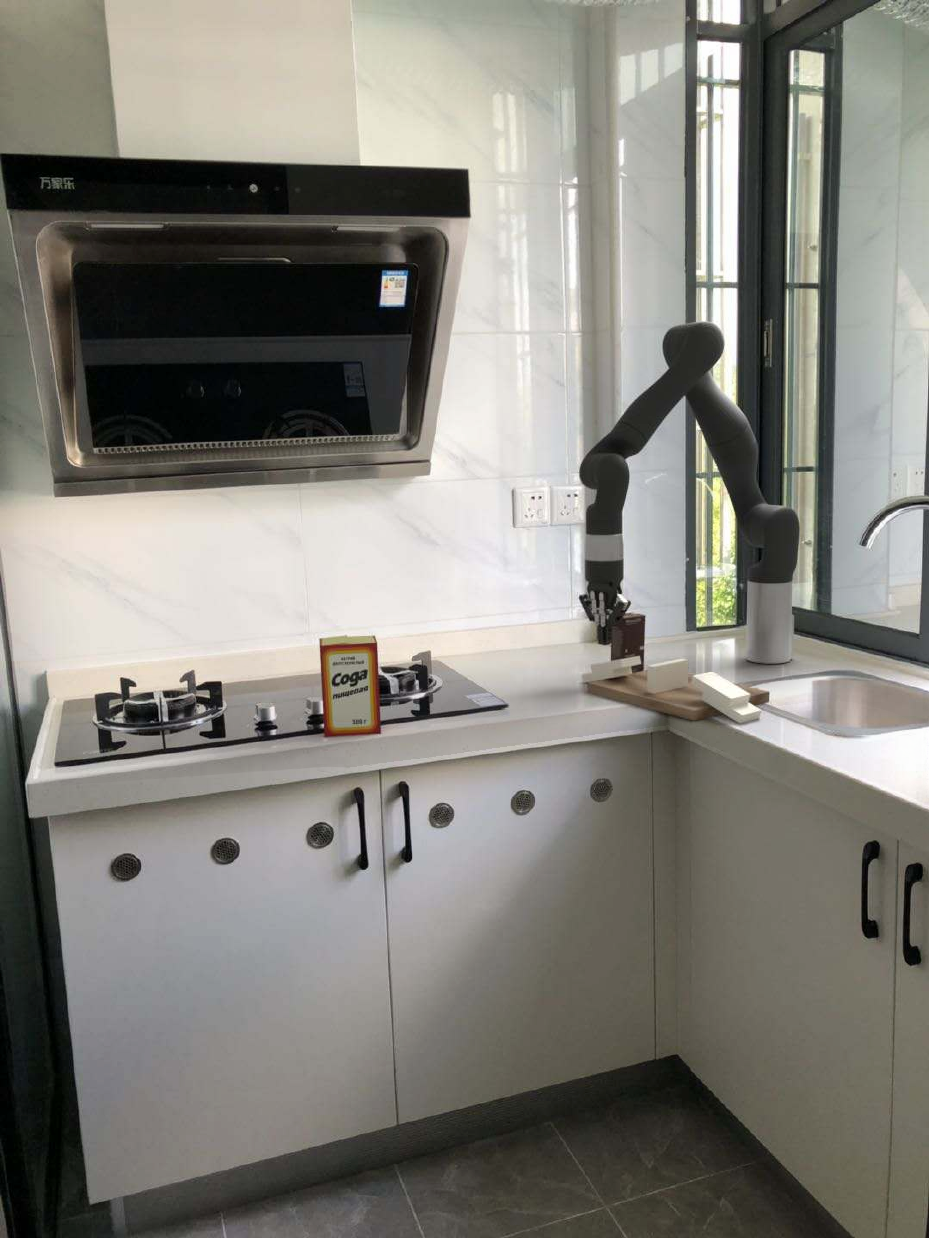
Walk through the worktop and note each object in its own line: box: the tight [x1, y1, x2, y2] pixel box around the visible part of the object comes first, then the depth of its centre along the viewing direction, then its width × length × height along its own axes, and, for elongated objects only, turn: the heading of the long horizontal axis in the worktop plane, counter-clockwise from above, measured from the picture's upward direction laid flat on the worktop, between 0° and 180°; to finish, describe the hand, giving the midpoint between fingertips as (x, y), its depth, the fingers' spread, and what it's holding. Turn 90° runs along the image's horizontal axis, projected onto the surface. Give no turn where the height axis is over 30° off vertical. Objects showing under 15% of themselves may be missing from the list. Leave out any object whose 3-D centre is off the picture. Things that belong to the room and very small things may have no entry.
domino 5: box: [701, 692, 762, 724], centre depth 176 cm, size 2×5×9 cm
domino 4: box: [691, 671, 750, 707], centre depth 177 cm, size 2×5×9 cm
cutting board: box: [586, 669, 771, 721], centre depth 190 cm, size 20×27×2 cm
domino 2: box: [582, 666, 633, 683], centre depth 201 cm, size 2×5×9 cm
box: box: [610, 611, 646, 673], centre depth 211 cm, size 6×4×12 cm
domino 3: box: [647, 658, 689, 694], centre depth 189 cm, size 2×5×9 cm
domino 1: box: [590, 656, 641, 673], centre depth 199 cm, size 2×5×9 cm
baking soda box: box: [318, 635, 382, 738], centre depth 173 cm, size 10×6×16 cm
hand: (604, 644), depth 201 cm, fingers closed
